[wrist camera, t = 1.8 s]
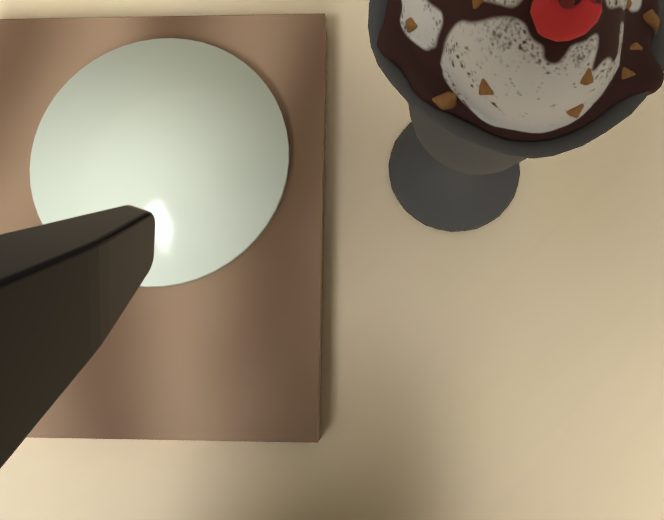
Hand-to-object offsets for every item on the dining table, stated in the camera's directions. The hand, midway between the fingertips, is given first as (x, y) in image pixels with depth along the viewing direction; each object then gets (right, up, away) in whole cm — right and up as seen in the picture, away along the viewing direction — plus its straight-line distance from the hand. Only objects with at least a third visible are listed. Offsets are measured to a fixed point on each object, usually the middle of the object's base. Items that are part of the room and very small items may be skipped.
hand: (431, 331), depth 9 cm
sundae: (+3, +4, +15) cm, 16 cm away
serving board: (-9, +3, +15) cm, 17 cm away
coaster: (-8, +5, +14) cm, 17 cm away
